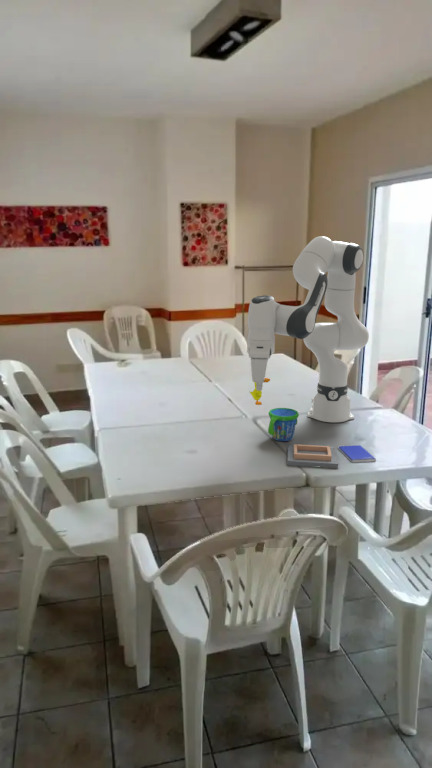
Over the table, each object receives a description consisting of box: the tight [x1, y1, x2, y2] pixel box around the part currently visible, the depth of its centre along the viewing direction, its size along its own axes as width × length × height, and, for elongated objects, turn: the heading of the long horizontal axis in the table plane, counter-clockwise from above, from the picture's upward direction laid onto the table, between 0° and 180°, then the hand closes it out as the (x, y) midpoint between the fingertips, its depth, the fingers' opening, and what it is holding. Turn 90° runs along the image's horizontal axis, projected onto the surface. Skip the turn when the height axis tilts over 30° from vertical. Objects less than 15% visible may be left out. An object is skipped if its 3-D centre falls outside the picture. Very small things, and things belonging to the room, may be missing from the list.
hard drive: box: [338, 444, 376, 463], centre depth 191 cm, size 2×8×12 cm
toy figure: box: [249, 377, 271, 406], centre depth 184 cm, size 7×4×12 cm, turn 95°
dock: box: [286, 443, 339, 469], centre depth 187 cm, size 14×16×3 cm
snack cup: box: [267, 407, 299, 442], centre depth 205 cm, size 16×10×10 cm
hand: (259, 388), depth 184 cm, fingers closed on toy figure, 2 cm apart
